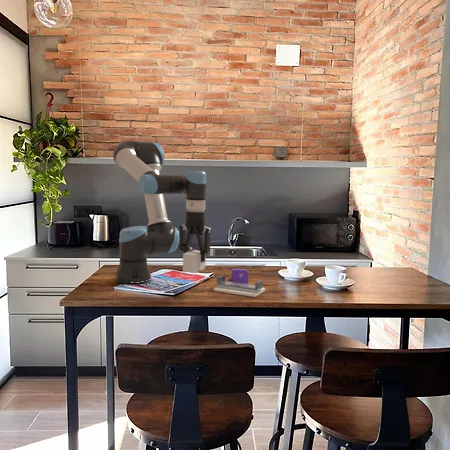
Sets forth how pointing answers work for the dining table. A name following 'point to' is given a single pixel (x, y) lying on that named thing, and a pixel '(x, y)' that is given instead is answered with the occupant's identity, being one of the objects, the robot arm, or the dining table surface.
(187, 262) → the block
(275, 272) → the dining table surface
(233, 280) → the bracket
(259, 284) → the rail
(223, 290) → the mount plate
